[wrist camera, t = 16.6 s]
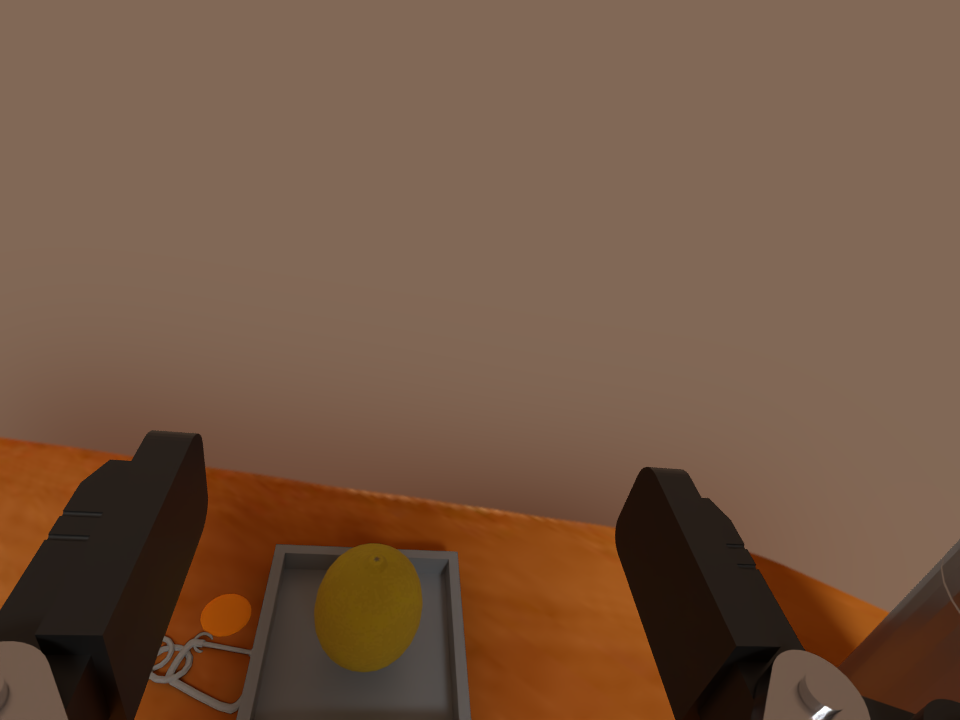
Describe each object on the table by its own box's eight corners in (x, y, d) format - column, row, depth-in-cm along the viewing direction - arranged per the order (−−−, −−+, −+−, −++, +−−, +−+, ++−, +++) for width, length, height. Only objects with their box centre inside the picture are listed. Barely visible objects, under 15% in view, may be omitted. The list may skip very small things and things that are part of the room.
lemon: (333, 720, 30) (343, 629, 25) (297, 628, 33) (301, 534, 29) (429, 672, 33) (453, 583, 28) (387, 592, 36) (402, 502, 32)
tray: (452, 571, 39) (457, 551, 38) (465, 760, 30) (472, 741, 29) (276, 565, 37) (276, 544, 36) (231, 766, 28) (230, 746, 27)
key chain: (296, 611, 35) (297, 602, 35) (229, 740, 29) (228, 732, 28) (98, 551, 36) (96, 542, 35) (-9, 664, 30) (-13, 655, 29)
